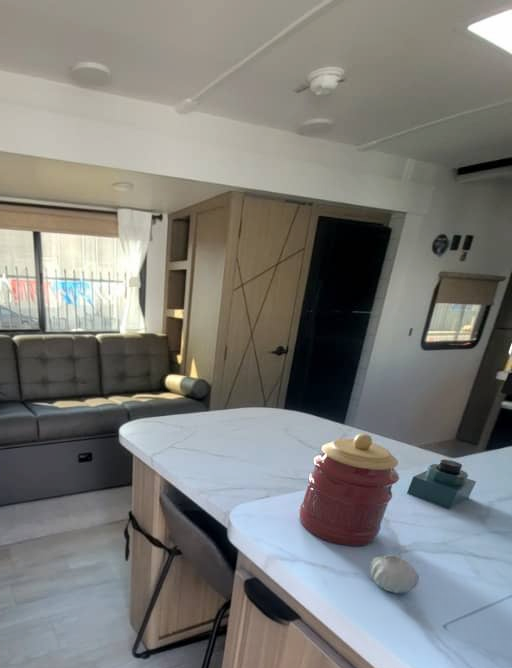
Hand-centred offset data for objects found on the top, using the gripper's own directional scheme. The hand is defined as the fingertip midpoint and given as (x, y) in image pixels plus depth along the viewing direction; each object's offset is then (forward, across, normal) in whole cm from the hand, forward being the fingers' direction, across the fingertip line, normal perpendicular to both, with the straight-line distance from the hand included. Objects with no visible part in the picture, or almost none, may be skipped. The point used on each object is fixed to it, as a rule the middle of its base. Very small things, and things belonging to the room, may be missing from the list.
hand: (511, 393), depth 80 cm
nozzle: (+16, -9, +3) cm, 18 cm away
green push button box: (+22, -9, +3) cm, 23 cm away
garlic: (+21, -50, -6) cm, 54 cm away
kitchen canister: (+21, -41, +7) cm, 47 cm away
